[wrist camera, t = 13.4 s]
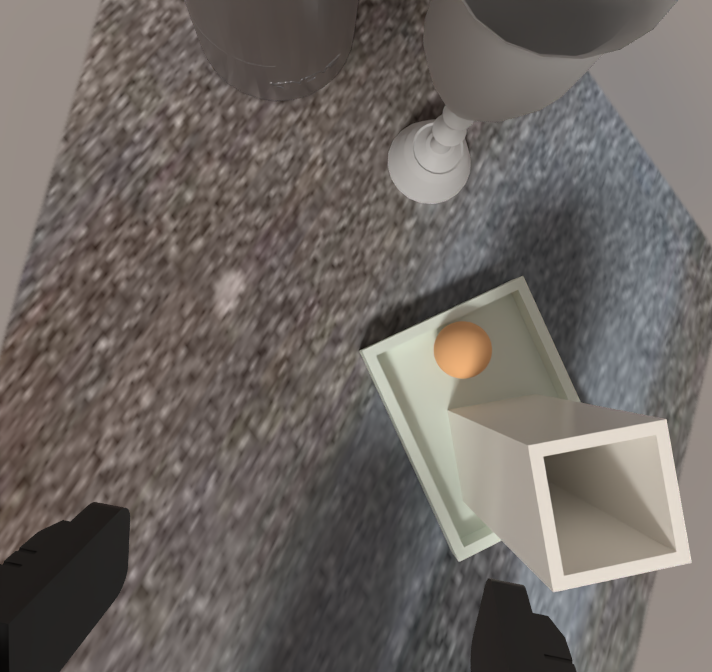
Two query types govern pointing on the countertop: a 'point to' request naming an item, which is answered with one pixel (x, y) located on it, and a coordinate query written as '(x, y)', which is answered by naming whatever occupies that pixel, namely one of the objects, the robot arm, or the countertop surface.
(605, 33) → the chalice
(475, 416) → the cup
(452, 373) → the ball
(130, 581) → the countertop surface
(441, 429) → the tray
